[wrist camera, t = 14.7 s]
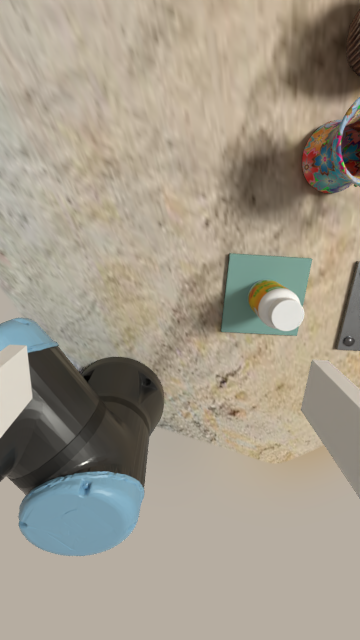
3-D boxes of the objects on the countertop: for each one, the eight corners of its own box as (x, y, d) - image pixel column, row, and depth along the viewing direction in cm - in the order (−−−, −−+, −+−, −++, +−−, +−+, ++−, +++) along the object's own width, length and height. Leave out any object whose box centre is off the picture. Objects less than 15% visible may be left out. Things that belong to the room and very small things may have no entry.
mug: (284, 148, 39) (322, 123, 29) (349, 102, 37) (413, 58, 27) (323, 227, 42) (369, 229, 32) (384, 187, 41) (453, 176, 31)
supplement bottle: (271, 271, 44) (296, 284, 34) (289, 300, 45) (318, 320, 36) (240, 292, 44) (256, 311, 35) (258, 320, 46) (279, 344, 37)
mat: (295, 334, 47) (296, 335, 47) (220, 330, 47) (221, 331, 46) (310, 258, 44) (312, 258, 43) (229, 253, 43) (230, 253, 43)
